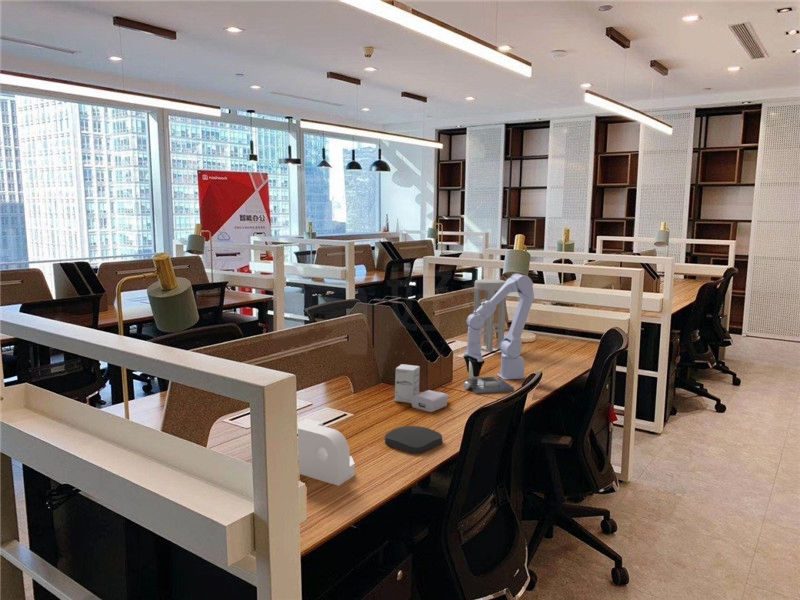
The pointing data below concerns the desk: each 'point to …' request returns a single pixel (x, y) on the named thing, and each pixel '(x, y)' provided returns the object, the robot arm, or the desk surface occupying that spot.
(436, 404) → the charger
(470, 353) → the robot arm
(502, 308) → the stool
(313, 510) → the desk surface
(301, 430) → the tape dispenser
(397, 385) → the supplement box
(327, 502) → the desk surface
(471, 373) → the spout can
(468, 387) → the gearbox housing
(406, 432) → the media streaming box
